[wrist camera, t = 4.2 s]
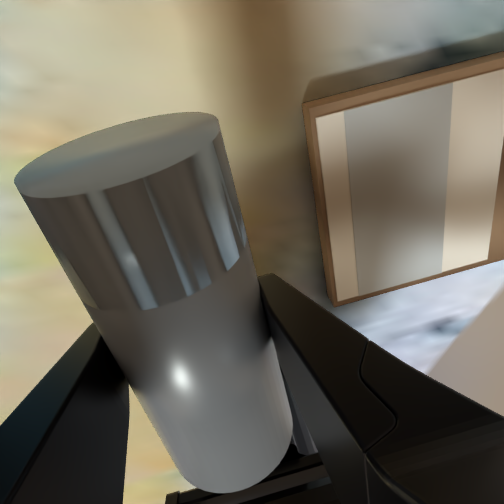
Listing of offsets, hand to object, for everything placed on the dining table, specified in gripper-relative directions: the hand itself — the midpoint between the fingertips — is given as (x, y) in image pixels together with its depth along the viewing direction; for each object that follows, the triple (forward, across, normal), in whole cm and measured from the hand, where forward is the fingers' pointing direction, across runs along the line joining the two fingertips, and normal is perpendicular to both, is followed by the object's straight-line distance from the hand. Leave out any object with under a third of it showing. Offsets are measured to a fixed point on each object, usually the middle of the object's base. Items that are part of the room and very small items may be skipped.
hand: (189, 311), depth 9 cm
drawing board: (+9, -13, +3) cm, 16 cm away
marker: (+1, 0, 0) cm, 1 cm away
